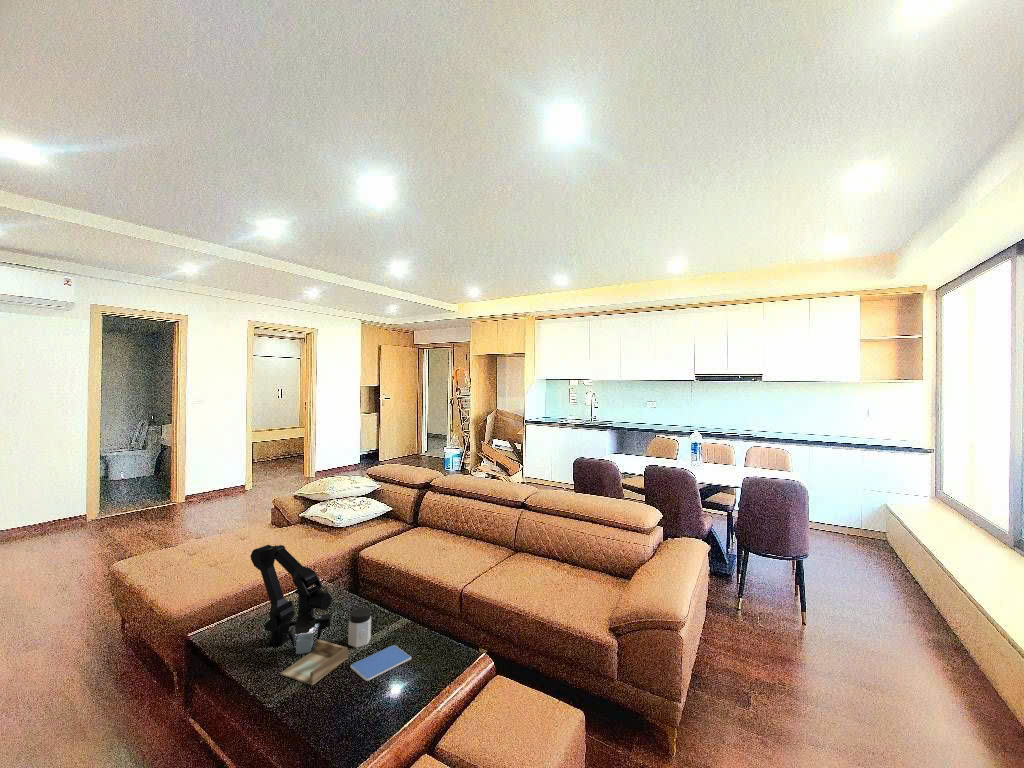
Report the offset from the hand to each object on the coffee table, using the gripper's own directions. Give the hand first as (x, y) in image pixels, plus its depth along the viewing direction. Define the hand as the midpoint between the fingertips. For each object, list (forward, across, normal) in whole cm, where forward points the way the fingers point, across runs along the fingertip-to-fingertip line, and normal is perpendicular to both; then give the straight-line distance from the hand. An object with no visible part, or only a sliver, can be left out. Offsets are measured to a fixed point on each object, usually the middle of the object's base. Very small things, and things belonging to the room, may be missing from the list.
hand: (305, 644), depth 173 cm
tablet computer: (+3, +29, -16) cm, 33 cm away
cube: (+2, 0, 0) cm, 2 cm away
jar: (+2, +20, +1) cm, 20 cm away
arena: (+2, +6, -13) cm, 14 cm away
